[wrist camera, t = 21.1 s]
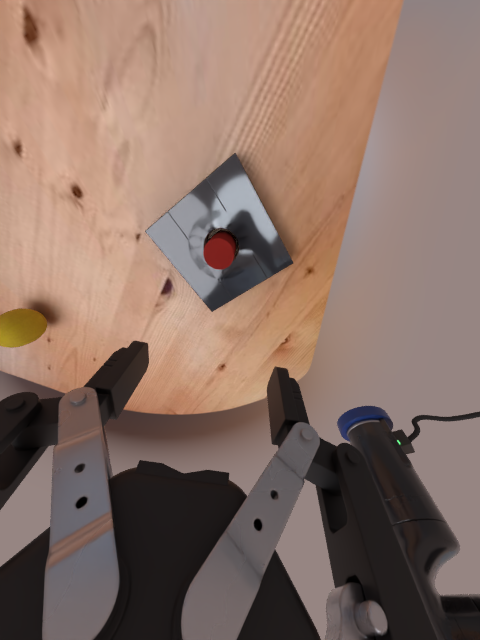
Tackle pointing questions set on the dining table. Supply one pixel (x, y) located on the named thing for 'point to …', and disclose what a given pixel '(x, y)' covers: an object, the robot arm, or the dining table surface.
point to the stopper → (220, 250)
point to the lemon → (21, 327)
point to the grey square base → (228, 213)
